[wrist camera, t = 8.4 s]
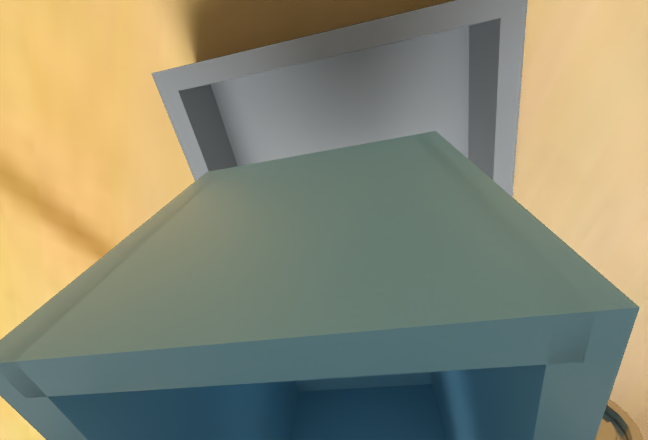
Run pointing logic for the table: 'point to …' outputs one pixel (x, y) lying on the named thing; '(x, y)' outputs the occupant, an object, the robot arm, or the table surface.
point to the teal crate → (328, 313)
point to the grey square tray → (360, 90)
